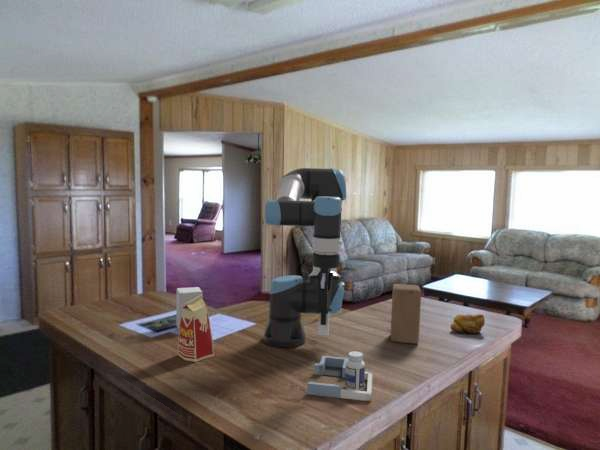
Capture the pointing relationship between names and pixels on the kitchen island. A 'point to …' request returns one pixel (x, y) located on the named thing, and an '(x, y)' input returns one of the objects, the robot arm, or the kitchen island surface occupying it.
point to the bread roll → (468, 323)
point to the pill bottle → (355, 371)
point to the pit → (333, 371)
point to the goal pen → (359, 394)
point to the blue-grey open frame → (324, 388)
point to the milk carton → (195, 332)
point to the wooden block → (405, 313)
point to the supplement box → (185, 300)
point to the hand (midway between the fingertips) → (323, 334)
